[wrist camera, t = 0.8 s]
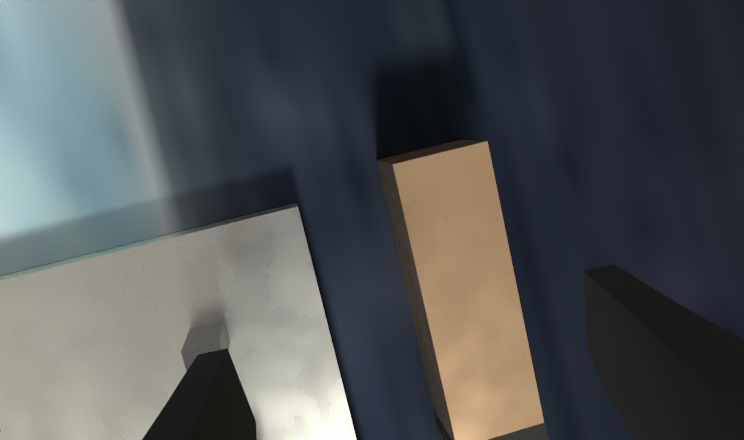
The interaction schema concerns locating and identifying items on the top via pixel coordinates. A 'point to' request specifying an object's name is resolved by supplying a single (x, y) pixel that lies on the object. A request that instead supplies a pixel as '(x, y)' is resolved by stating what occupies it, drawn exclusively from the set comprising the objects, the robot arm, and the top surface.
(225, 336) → the firebox plate
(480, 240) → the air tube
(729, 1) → the top surface
